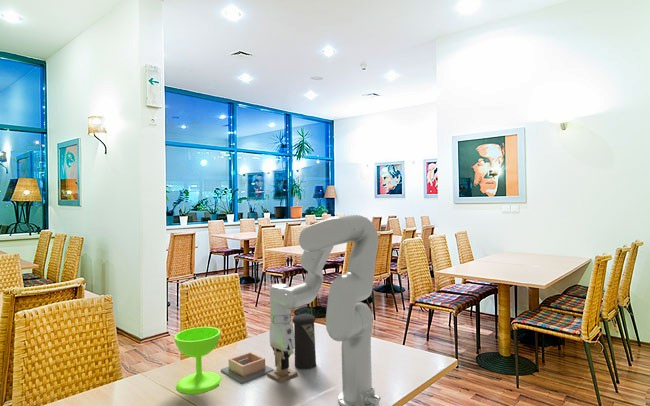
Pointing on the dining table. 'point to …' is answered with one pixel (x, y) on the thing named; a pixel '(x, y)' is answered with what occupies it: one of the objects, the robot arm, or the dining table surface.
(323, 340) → the dining table surface
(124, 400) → the dining table surface
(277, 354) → the tan wooden bar
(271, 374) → the brown square tray
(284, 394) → the dining table surface
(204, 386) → the wineglass
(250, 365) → the grey base square tray
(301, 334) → the container
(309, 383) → the dining table surface
